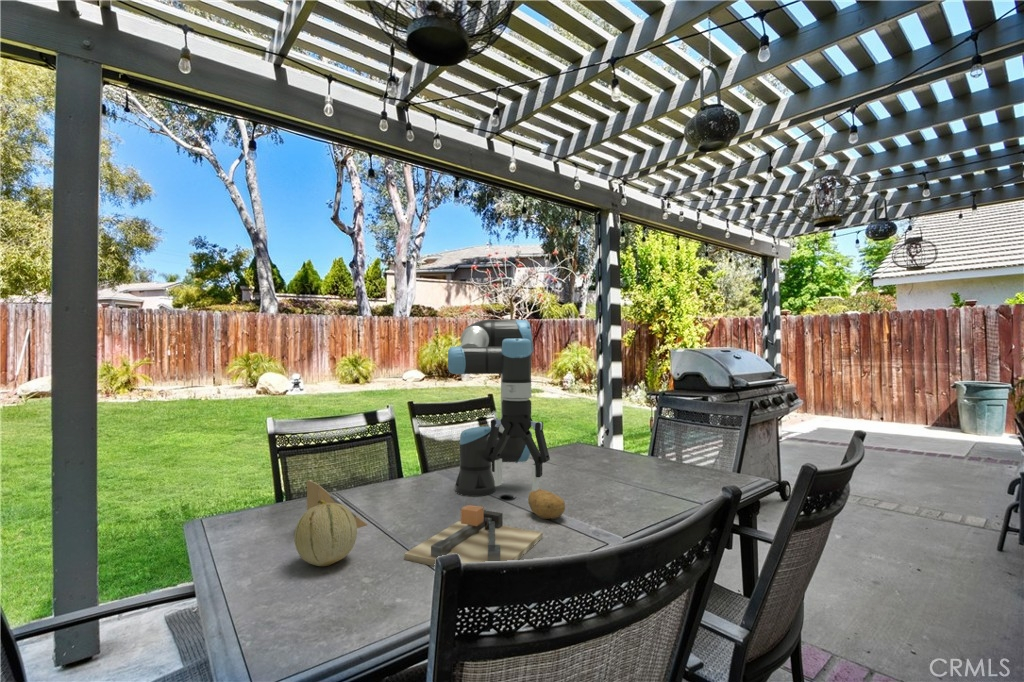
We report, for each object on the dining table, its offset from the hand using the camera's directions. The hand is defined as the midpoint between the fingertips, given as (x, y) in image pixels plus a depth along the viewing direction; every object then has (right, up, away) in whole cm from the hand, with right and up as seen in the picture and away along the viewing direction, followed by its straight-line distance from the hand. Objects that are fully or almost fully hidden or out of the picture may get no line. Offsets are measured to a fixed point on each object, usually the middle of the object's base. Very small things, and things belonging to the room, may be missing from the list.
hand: (516, 487), depth 124 cm
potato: (+10, -18, +29) cm, 36 cm away
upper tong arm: (-6, -16, +5) cm, 18 cm away
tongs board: (-10, -18, +6) cm, 21 cm away
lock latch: (-12, -14, +13) cm, 23 cm away
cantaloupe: (-47, -18, -3) cm, 50 cm away
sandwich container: (-53, -19, +21) cm, 60 cm away
